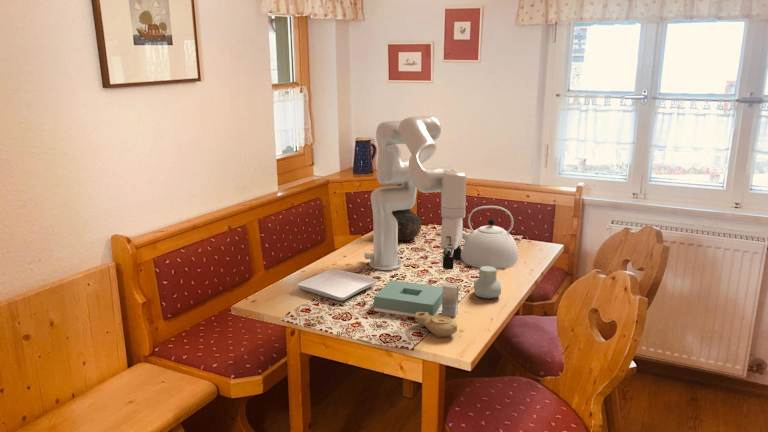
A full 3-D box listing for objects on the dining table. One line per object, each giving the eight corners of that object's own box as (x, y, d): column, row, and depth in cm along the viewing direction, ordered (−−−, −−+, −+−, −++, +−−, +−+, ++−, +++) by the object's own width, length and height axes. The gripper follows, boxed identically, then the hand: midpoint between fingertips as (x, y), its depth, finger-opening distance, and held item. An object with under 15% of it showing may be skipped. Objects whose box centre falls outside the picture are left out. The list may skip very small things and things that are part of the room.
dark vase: (403, 230, 296) (403, 172, 289) (429, 239, 283) (430, 178, 276) (373, 237, 285) (373, 177, 278) (399, 246, 272) (400, 183, 265)
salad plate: (379, 287, 226) (379, 278, 226) (342, 306, 209) (342, 297, 209) (333, 275, 238) (333, 267, 237) (295, 293, 221) (295, 283, 220)
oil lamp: (416, 321, 197) (416, 306, 196) (461, 327, 193) (462, 312, 192) (407, 335, 188) (407, 320, 186) (454, 342, 183) (454, 326, 182)
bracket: (441, 315, 202) (442, 286, 200) (444, 311, 205) (445, 282, 202) (455, 317, 201) (456, 287, 198) (457, 313, 203) (458, 284, 201)
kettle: (454, 266, 248) (455, 211, 242) (457, 249, 269) (459, 198, 263) (518, 270, 243) (521, 214, 237) (517, 252, 265) (520, 200, 259)
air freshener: (472, 289, 223) (473, 263, 221) (496, 289, 223) (497, 263, 221) (477, 301, 213) (478, 274, 210) (501, 301, 213) (502, 274, 210)
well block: (374, 310, 205) (374, 296, 204) (390, 293, 220) (390, 280, 219) (432, 319, 199) (433, 304, 197) (445, 301, 213) (446, 287, 212)
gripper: (448, 204, 203) (447, 255, 207) (433, 217, 187) (432, 271, 191) (471, 206, 200) (469, 257, 204) (458, 219, 185) (456, 274, 189)
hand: (452, 264), depth 198 cm, fingers open, 9 cm apart
